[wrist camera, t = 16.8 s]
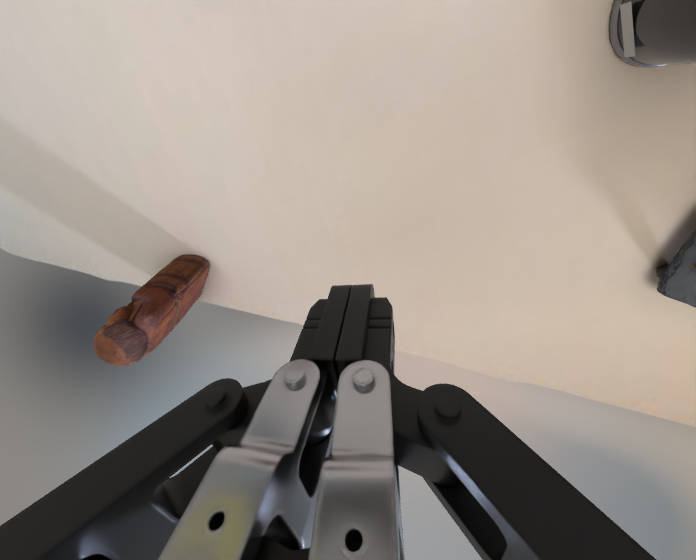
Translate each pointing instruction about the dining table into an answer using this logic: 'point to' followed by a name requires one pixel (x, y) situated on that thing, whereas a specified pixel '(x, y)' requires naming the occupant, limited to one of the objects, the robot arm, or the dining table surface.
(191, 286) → the wooden figurine
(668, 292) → the serving tray
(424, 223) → the dining table surface
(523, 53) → the dining table surface
